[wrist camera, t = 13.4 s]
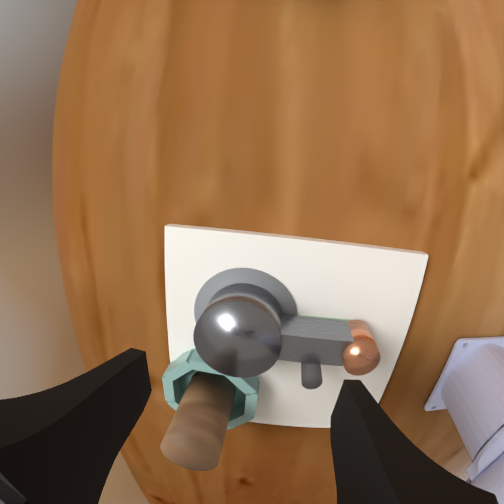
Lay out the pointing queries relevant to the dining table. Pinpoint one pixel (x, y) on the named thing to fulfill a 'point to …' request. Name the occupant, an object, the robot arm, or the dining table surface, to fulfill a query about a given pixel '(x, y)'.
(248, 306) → the grey ball-ended lever
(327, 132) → the dining table surface
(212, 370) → the socket
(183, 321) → the board
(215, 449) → the pin
